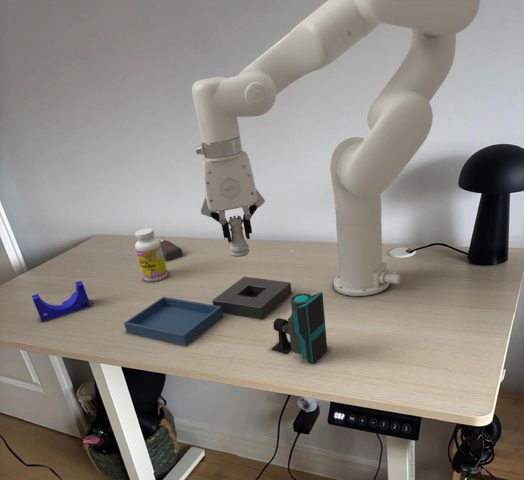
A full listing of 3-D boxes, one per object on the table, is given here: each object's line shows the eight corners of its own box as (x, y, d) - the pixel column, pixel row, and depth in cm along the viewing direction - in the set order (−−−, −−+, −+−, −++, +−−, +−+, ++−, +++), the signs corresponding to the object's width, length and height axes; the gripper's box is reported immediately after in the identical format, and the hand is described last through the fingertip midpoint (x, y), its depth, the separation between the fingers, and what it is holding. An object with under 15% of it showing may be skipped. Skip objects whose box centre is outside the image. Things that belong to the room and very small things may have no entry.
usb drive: (166, 261, 150) (164, 252, 148) (152, 251, 159) (150, 242, 158) (183, 255, 152) (181, 246, 150) (168, 246, 161) (166, 237, 160)
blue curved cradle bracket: (87, 300, 134) (79, 278, 131) (90, 306, 130) (83, 284, 127) (39, 315, 130) (30, 293, 127) (42, 321, 126) (32, 299, 123)
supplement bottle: (139, 282, 139) (125, 236, 133) (152, 271, 144) (140, 226, 138) (160, 282, 137) (147, 236, 130) (172, 272, 142) (161, 226, 135)
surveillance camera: (277, 283, 97) (323, 291, 91) (285, 338, 103) (328, 349, 98) (259, 296, 93) (306, 305, 88) (268, 352, 100) (312, 364, 94)
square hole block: (292, 293, 120) (290, 282, 119) (262, 319, 111) (260, 308, 110) (245, 286, 127) (244, 276, 125) (214, 311, 118) (212, 300, 117)
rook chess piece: (249, 256, 111) (245, 219, 106) (228, 258, 111) (223, 221, 107) (250, 249, 114) (246, 213, 110) (230, 250, 115) (225, 215, 111)
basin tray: (223, 316, 115) (221, 306, 114) (186, 346, 106) (183, 335, 105) (165, 305, 124) (163, 296, 123) (126, 332, 115) (123, 322, 114)
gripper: (180, 160, 98) (201, 252, 107) (266, 144, 98) (279, 237, 108) (180, 153, 104) (200, 240, 114) (261, 138, 105) (273, 226, 114)
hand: (238, 238), depth 111 cm, fingers closed on rook chess piece, 3 cm apart
